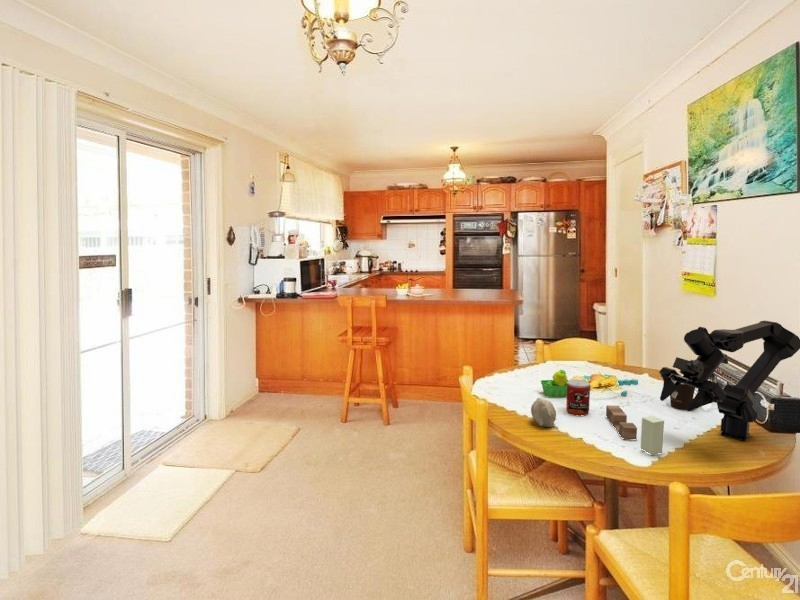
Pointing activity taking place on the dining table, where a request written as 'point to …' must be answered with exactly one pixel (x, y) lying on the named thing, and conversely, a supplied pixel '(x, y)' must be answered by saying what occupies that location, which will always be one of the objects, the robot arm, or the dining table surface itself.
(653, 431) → the post
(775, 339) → the robot arm
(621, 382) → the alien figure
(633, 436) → the rail
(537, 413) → the grey faceted lump
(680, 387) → the coffee mug
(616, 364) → the dining table surface
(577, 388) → the canned food
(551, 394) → the fruit basket
